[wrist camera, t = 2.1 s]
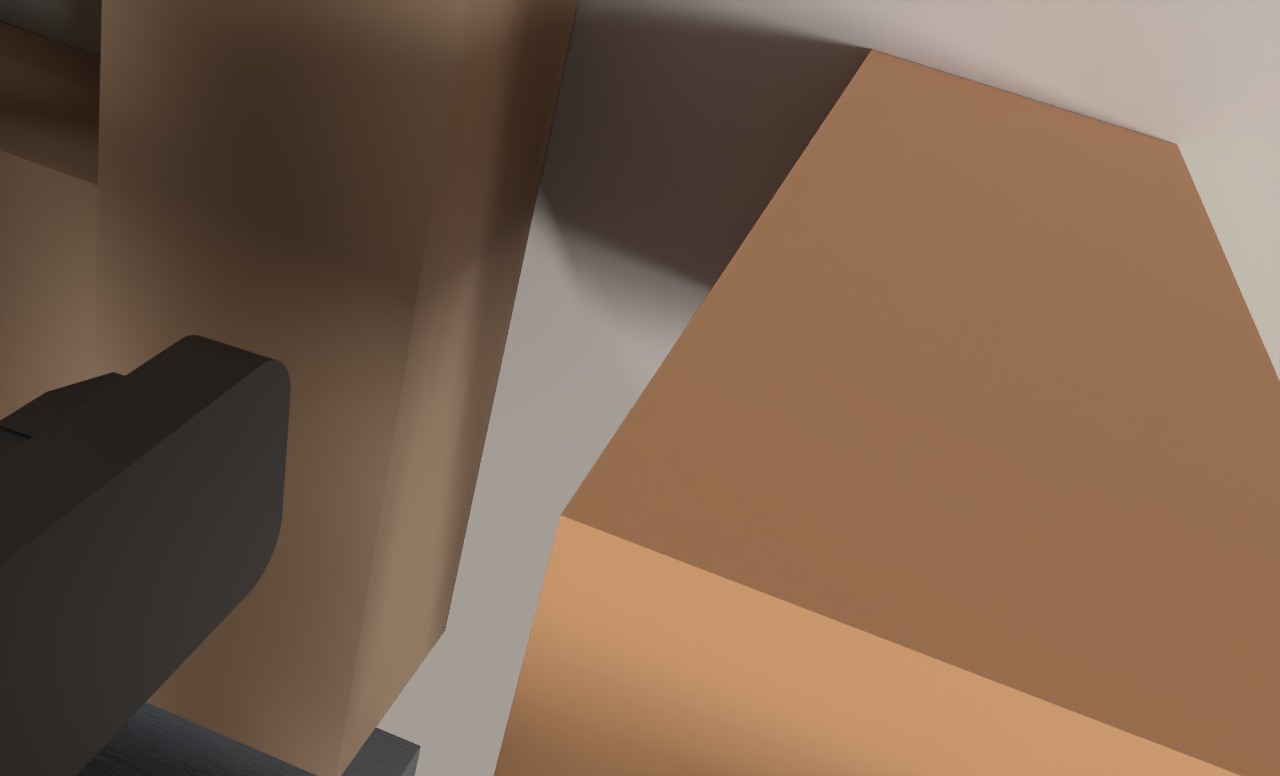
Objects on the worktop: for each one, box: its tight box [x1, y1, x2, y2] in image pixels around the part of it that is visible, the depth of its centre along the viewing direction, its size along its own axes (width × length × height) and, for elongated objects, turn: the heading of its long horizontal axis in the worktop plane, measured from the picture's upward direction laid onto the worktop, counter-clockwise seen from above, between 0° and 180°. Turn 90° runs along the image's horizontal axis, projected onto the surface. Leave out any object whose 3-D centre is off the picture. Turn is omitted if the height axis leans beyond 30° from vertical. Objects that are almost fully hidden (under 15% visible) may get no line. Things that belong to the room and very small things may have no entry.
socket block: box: [0, 0, 578, 776], centre depth 17 cm, size 14×16×4 cm
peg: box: [494, 50, 1280, 776], centre depth 11 cm, size 4×4×12 cm
